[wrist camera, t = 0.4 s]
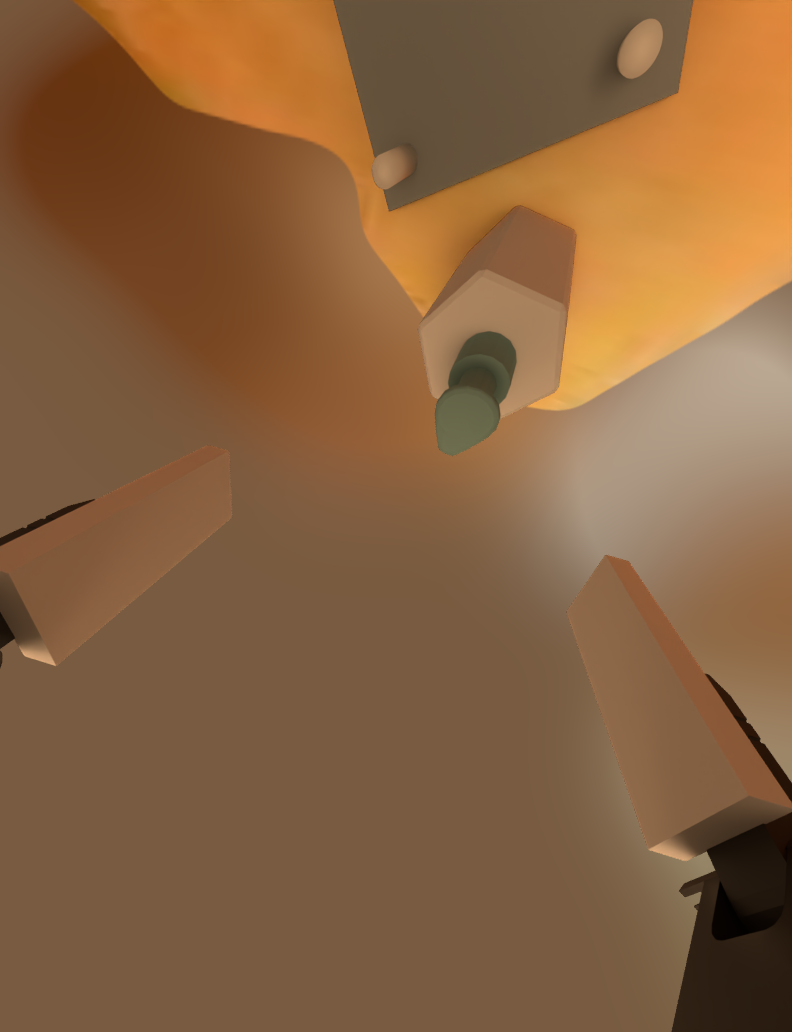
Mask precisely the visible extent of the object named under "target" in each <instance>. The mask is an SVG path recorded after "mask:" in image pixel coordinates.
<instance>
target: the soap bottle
mask: <svg viewBox="0 0 792 1032" xmlns="http://www.w3.org/2000/svg"><path fill="white" fill-rule="evenodd" d="M575 245H576V233H575V231H574V230H573V229H571V228H569V227H566V226H564V225H562V224H560V223H558V222H556V221H553V220H551V219H549V218H547V217H545V216H542V215H540V214H538V213H536V212H534V211H532V210H529V209H527V208H525V207H523V206H517V207H514V208H513V209H512V210H511V211H510V212H509V213H508V214H507V215H506V216H505V217H504V218H503V219H502V220H501V221H500V222H499V223H498V224H497V225H496V226H495V227H494V228H493V229H492V230H491V231H490V232H489V233H488V234H487V235H486V236H485V237H484V238H483V239H481V240H480V241H479V242H478V243H477V244H476V245H475V246H474V247H473V248H472V249H471V250H470V251H469V252H468V253H467V255H466V256H465V258H464V259H463V261H462V262H461V264H460V265H459V267H458V268H457V270H456V271H455V272H454V274H453V275H452V277H451V278H450V280H449V281H448V283H447V284H446V286H445V287H444V289H443V290H442V292H441V293H440V295H439V296H438V298H437V299H436V301H435V302H434V304H433V305H432V306H431V308H430V309H429V311H428V312H427V314H426V315H425V317H424V318H423V320H422V321H421V323H420V325H419V328H418V333H419V338H420V343H421V348H422V353H423V358H424V364H425V368H426V374H427V379H428V383H429V389H430V393H431V394H432V396H433V397H434V398H436V399H438V401H437V404H436V410H435V423H436V433H437V441H438V447H439V450H440V451H442V452H444V453H445V454H448V455H452V456H453V455H456V454H459V453H460V452H463V451H465V450H467V449H469V448H470V447H472V446H474V445H476V444H478V443H479V442H481V441H483V440H484V439H486V438H488V437H489V436H490V435H491V434H492V433H493V432H494V431H495V430H496V428H497V425H498V423H499V420H500V419H502V418H504V417H506V416H508V415H510V414H512V413H514V412H516V411H518V410H520V409H522V408H524V407H526V406H528V405H530V404H532V403H534V402H536V401H538V400H540V399H542V398H544V397H546V396H548V395H550V394H552V393H554V392H555V391H556V390H557V389H558V387H559V381H560V373H561V365H562V357H563V349H564V341H565V333H566V325H567V317H568V309H569V301H570V292H571V283H572V273H573V264H574V254H575Z"/></svg>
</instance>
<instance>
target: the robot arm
mask: <svg viewBox="0 0 792 1032" xmlns="http://www.w3.org/2000/svg"><path fill="white" fill-rule="evenodd" d="M231 517H232V504H231V483H230V463H229V451H228V450H225V449H221V448H217V447H214V446H210V445H207V446H205V447H203V448H201V449H199V450H197V451H194V452H192V453H191V454H188V455H186V456H184V457H182V458H180V459H178V460H176V461H174V462H172V463H170V464H168V465H166V466H164V467H162V468H160V469H158V470H156V471H154V472H151V473H150V474H147V475H145V476H143V477H141V478H139V479H137V480H135V481H133V482H131V483H129V484H127V485H125V486H123V487H121V488H119V489H117V490H115V491H113V492H110V493H108V494H106V495H104V496H102V497H100V498H98V499H96V500H95V499H93V500H89V501H86V502H82V503H78V504H75V505H71V506H67V507H66V508H63V509H61V510H59V511H57V512H55V513H52V514H51V515H48V516H46V519H40V520H38V521H35V522H33V523H31V524H29V525H28V526H27V528H21V529H19V530H16V531H14V532H12V533H10V534H8V535H6V536H4V537H1V538H0V649H1V648H2V647H3V646H5V645H6V644H7V643H9V642H10V641H12V640H13V639H15V641H16V643H17V644H18V646H19V648H20V649H21V651H22V653H23V655H24V656H26V657H29V658H32V659H35V660H39V661H42V662H45V663H48V664H52V665H55V666H57V665H58V664H59V663H60V662H62V661H63V660H64V659H65V658H66V657H67V656H69V655H70V654H71V653H72V652H73V651H74V650H76V649H77V648H78V647H79V646H81V645H82V644H83V643H84V642H85V641H86V640H88V639H89V638H90V637H91V636H92V635H93V634H95V633H96V632H97V631H98V630H99V629H101V628H102V627H103V626H104V625H105V624H106V623H108V622H109V621H110V620H111V619H112V618H113V617H115V616H116V615H117V614H118V613H119V612H121V611H122V610H123V609H124V608H125V607H127V606H128V605H129V604H130V603H131V602H132V601H133V600H135V599H136V598H137V597H138V596H140V595H141V594H142V593H143V592H144V591H145V590H147V589H148V588H149V587H150V586H151V585H152V584H154V583H155V582H156V581H157V580H158V579H160V578H161V577H162V576H163V575H164V574H165V573H167V572H168V571H169V570H170V569H171V568H172V567H174V566H175V565H176V564H177V563H178V562H180V561H181V560H182V559H183V558H184V557H185V556H187V555H188V554H189V553H190V552H191V551H193V550H194V549H195V548H196V547H197V546H198V545H200V544H201V543H202V542H203V541H204V540H205V539H207V538H208V537H209V536H210V535H211V534H213V533H214V532H215V531H216V530H217V529H218V528H220V527H221V526H222V525H223V524H224V523H226V522H227V521H228V520H229V519H230V518H231ZM566 613H567V616H568V619H569V621H570V625H571V628H572V630H573V633H574V636H575V639H576V642H577V645H578V647H579V650H580V654H581V656H582V659H583V662H584V665H585V668H586V671H587V674H588V677H589V680H590V683H591V685H592V688H593V691H594V694H595V697H596V700H597V703H598V706H599V709H600V712H601V714H602V717H603V720H604V723H605V726H606V729H607V732H608V735H609V738H610V741H611V743H612V746H613V749H614V752H615V755H616V758H617V761H618V764H619V766H620V770H621V772H622V775H623V778H624V781H625V784H626V787H627V790H628V793H629V795H630V798H631V801H632V804H633V807H634V810H635V813H636V816H637V819H638V822H639V825H640V827H641V830H642V833H643V836H644V839H645V842H646V845H647V848H648V850H651V851H655V852H657V853H661V854H664V855H667V856H670V857H674V858H677V859H680V860H683V861H687V860H689V859H691V858H693V857H695V856H698V855H700V854H702V853H704V852H706V851H707V853H708V855H709V857H710V859H711V861H712V864H713V866H714V868H715V870H716V871H713V872H711V873H709V874H706V875H704V876H701V877H699V878H696V879H694V880H692V881H689V882H687V883H685V884H684V885H683V886H682V887H681V889H680V890H679V892H680V893H681V894H682V895H683V896H684V897H687V896H690V895H693V894H695V893H698V892H702V894H701V899H700V903H699V904H697V905H695V906H694V907H695V908H696V909H697V910H698V912H697V917H696V921H695V926H694V931H693V935H692V940H691V944H690V949H689V954H688V958H687V963H686V967H685V972H684V977H683V981H682V986H681V990H680V995H679V1000H678V1004H677V1009H676V1014H675V1018H674V1023H673V1027H672V1032H792V783H791V781H790V780H789V779H788V777H787V775H786V774H785V773H784V771H783V770H782V768H781V767H780V765H779V764H778V763H777V761H776V760H775V758H774V757H773V756H772V754H771V753H770V751H769V750H768V748H767V747H766V746H765V744H763V743H761V742H760V737H759V736H758V734H757V733H756V731H755V730H754V729H753V727H752V726H751V724H749V723H747V722H746V720H747V719H746V717H745V716H744V714H743V713H742V712H741V710H740V709H739V707H738V706H737V705H736V703H735V702H734V700H733V699H732V697H731V696H730V695H729V694H728V693H727V692H726V691H725V690H724V689H723V688H722V687H721V686H720V685H719V684H718V683H717V682H716V681H715V680H714V679H713V678H712V677H711V676H710V675H708V674H705V673H704V672H703V671H702V669H701V668H700V666H699V665H698V663H697V662H696V660H695V659H694V657H693V656H692V654H691V653H690V651H689V650H688V648H687V647H686V646H685V644H684V643H683V641H682V640H681V638H680V637H679V635H678V634H677V632H676V631H675V629H674V628H673V626H672V625H671V623H670V622H669V620H668V619H667V617H666V616H665V614H664V613H663V611H662V610H661V608H660V607H659V606H658V604H657V603H656V601H655V600H654V598H653V597H652V595H651V594H650V592H649V591H648V589H647V588H646V586H645V585H644V583H643V582H642V580H641V579H640V577H639V576H638V574H637V573H636V571H635V570H634V568H633V567H632V566H631V564H630V563H629V561H626V560H623V559H619V558H615V557H612V556H608V555H605V556H604V558H603V559H602V561H601V562H600V563H599V565H598V566H597V568H596V569H595V571H594V572H593V574H592V575H591V577H590V578H589V580H588V581H587V582H586V584H585V585H584V587H583V588H582V590H581V591H580V592H579V594H578V596H577V597H576V598H575V600H574V601H573V603H572V604H571V606H570V607H569V608H568V610H567V611H566ZM1 664H2V652H1V651H0V667H1Z"/></svg>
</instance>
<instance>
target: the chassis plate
mask: <svg viewBox="0 0 792 1032" xmlns="http://www.w3.org/2000/svg"><path fill="white" fill-rule="evenodd" d="M333 1H334V4H335V8H336V12H337V16H338V20H339V23H340V27H341V31H342V35H343V38H344V42H345V46H346V50H347V54H348V57H349V61H350V65H351V69H352V73H353V76H354V80H355V84H356V88H357V92H358V95H359V99H360V103H361V107H362V111H363V114H364V118H365V122H366V126H367V129H368V133H369V137H370V141H371V145H372V148H373V152H374V156H375V160H374V162H373V165H372V175H373V179H374V182H375V183H376V185H377V186H378V187H379V188H381V189H383V190H384V194H385V198H386V201H387V205H388V209H389V211H392V210H394V209H397V208H399V207H401V206H404V205H406V204H409V203H411V202H414V201H416V200H418V199H421V198H423V197H426V196H428V195H431V194H433V193H435V192H438V191H440V190H443V189H445V188H447V187H450V186H452V185H455V184H457V183H460V182H462V181H464V180H467V179H469V178H472V177H474V176H477V175H479V174H481V173H484V172H486V171H489V170H491V169H494V168H496V167H498V166H501V165H503V164H506V163H508V162H511V161H513V160H515V159H518V158H520V157H523V156H525V155H528V154H530V153H532V152H535V151H537V150H540V149H542V148H545V147H547V146H549V145H552V144H554V143H557V142H559V141H562V140H564V139H566V138H569V137H571V136H574V135H576V134H579V133H581V132H583V131H586V130H588V129H591V128H593V127H596V126H598V125H600V124H603V123H605V122H608V121H610V120H613V119H615V118H617V117H620V116H622V115H625V114H627V113H630V112H632V111H634V110H637V109H639V108H642V107H644V106H647V105H649V104H651V103H654V102H656V101H659V100H661V99H664V98H666V97H668V96H671V95H673V94H676V93H678V89H679V83H680V77H681V71H682V65H683V59H684V53H685V47H686V41H687V35H688V29H689V23H690V17H691V10H692V4H693V0H333Z"/></svg>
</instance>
